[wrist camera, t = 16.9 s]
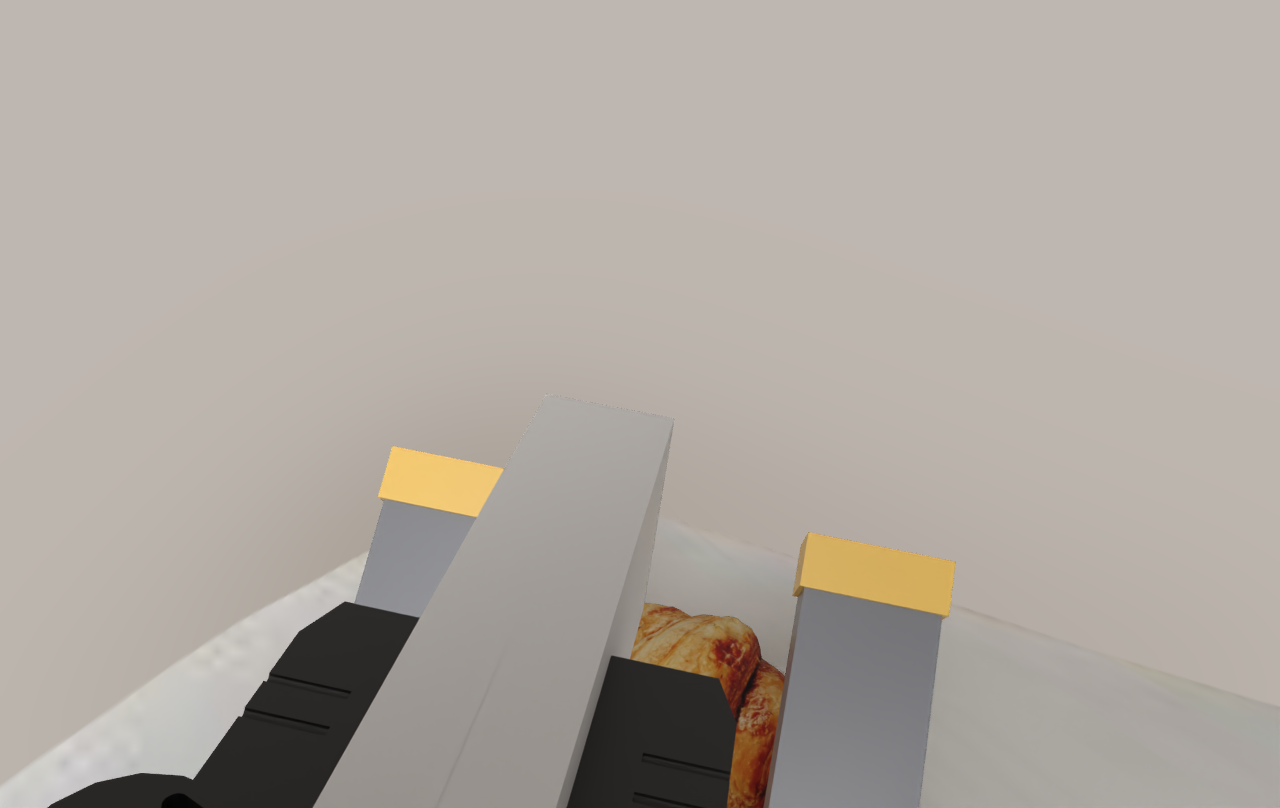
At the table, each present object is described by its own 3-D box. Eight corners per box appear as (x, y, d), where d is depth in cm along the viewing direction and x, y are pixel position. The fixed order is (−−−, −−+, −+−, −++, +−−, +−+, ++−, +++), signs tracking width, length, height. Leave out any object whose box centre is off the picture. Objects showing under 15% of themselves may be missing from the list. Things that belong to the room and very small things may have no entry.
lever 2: (916, 1031, 34) (969, 564, 39) (718, 983, 35) (795, 529, 40) (900, 1015, 36) (952, 576, 41) (715, 970, 37) (788, 542, 42)
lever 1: (436, 914, 36) (543, 476, 40) (254, 871, 36) (379, 443, 41) (450, 904, 38) (550, 490, 42) (279, 863, 39) (395, 459, 43)
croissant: (471, 701, 56) (418, 626, 50) (590, 560, 60) (555, 475, 54) (820, 956, 45) (805, 898, 39) (936, 760, 49) (938, 681, 43)
